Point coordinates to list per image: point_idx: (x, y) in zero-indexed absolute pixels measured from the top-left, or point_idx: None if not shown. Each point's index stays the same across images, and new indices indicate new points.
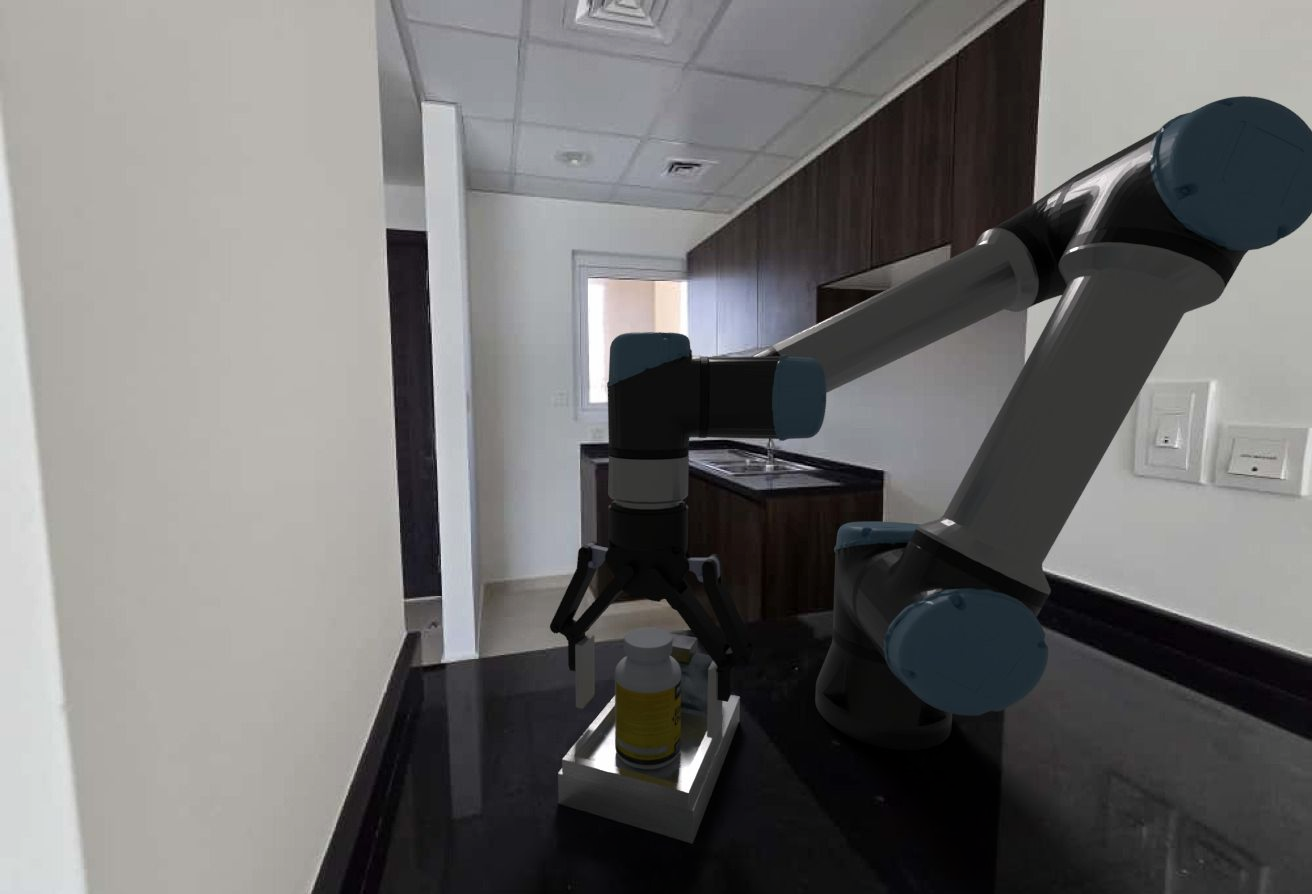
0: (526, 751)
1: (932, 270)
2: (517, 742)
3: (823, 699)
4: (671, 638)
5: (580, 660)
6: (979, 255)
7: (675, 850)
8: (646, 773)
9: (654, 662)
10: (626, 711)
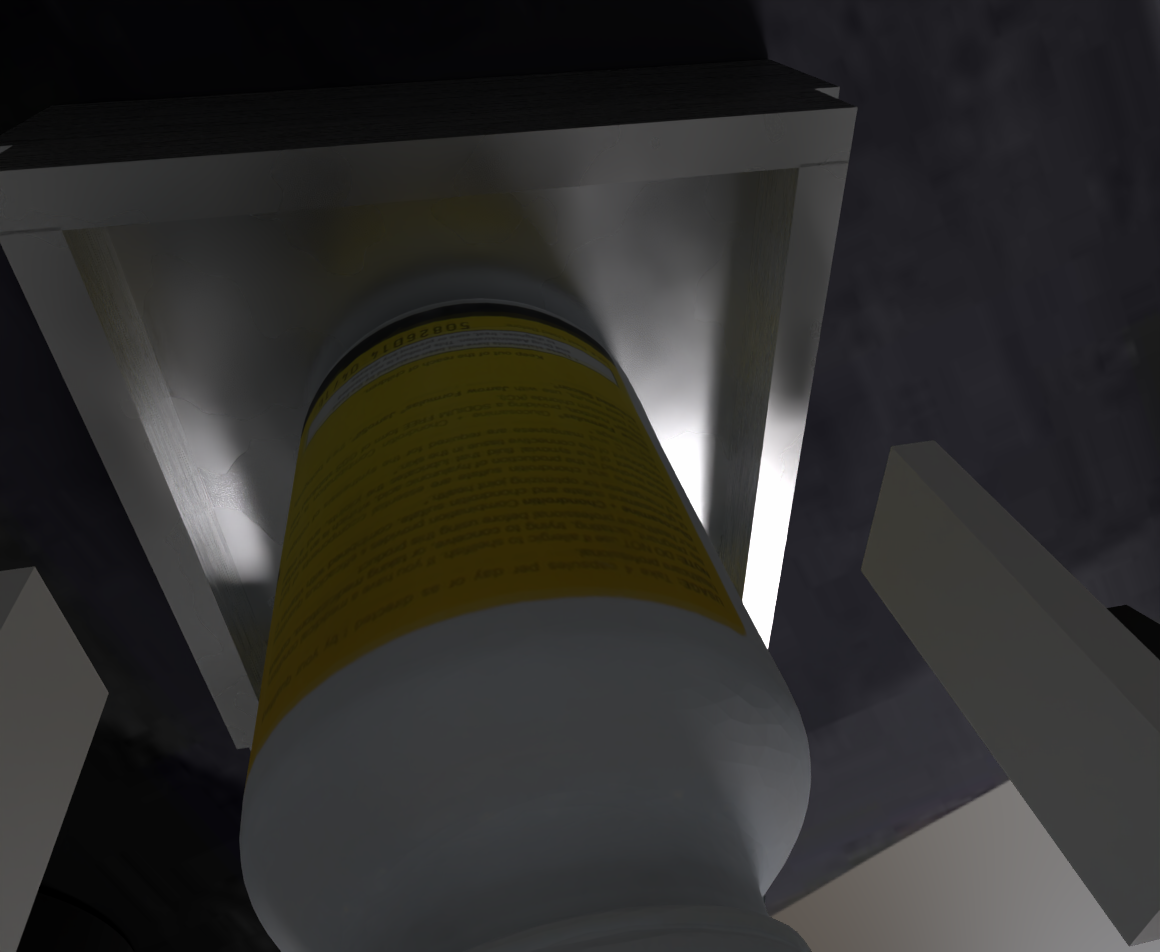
0: (1013, 288)
1: None
2: (1064, 316)
3: None
4: None
5: (1133, 687)
6: None
7: (98, 26)
8: (395, 300)
9: None
10: (570, 467)
